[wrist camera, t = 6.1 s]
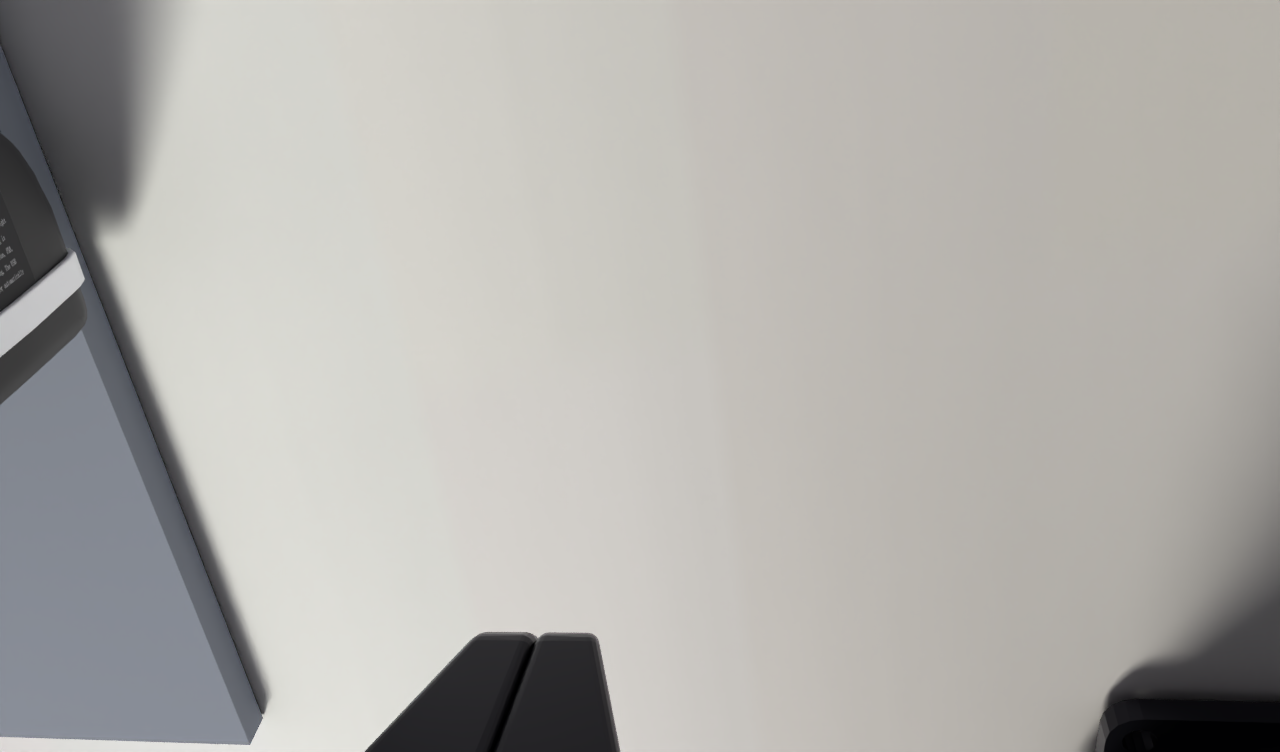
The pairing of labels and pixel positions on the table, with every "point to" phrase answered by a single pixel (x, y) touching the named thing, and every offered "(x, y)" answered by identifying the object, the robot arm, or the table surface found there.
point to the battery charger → (32, 276)
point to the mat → (101, 549)
